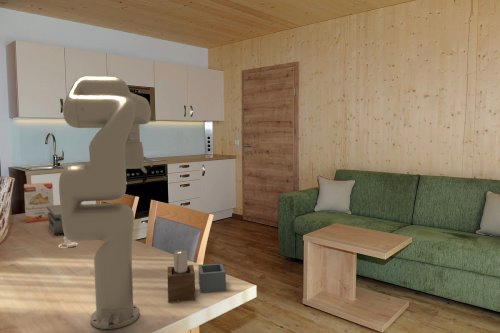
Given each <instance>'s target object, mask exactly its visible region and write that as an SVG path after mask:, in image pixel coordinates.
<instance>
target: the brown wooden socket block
mask: <svg viewBox="0 0 500 333" xmlns="http://www.w3.org/2000/svg"><path fill="white" fill-rule="evenodd" d="M195 274H196V273H195V267H194V264H190V265H188V264H187V273H186V274H174V265H173V266H167V303H174V302H175V303H179V302H186V301H187V302H189V301H196V275H195Z"/></svg>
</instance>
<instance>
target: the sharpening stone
mask: <svg viewBox="0 0 500 333" xmlns="http://www.w3.org/2000/svg"><path fill="white" fill-rule="evenodd" d="M47 209H48V211H49V212H50V213H48V220H47V221H48V224H49V226H48V227H49V229H50V232H51V233H52V234H53V235H58V234H64V232H63V226H62V216H61V206H60V204H55V205H54V204H53V206H47Z"/></svg>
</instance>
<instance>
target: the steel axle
mask: <svg viewBox="0 0 500 333" xmlns="http://www.w3.org/2000/svg"><path fill="white" fill-rule="evenodd" d="M187 265H188V250H187V249H176V250H174V251H173V266H174V274H186V273H187Z"/></svg>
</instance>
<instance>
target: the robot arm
mask: <svg viewBox="0 0 500 333" xmlns="http://www.w3.org/2000/svg"><path fill="white" fill-rule="evenodd" d="M62 112H63V118H64V121H65V122H66V123H67V125H68V126H69V127H72V128H75V129H99V131H97V133H96V134H95V135H94V136H93V138H92V140H91V141H90V142H89V145H88V151H89V152H88V153H89V163H78V164H77V163H76V164H70V165H67V166H65V167H64V168H63V169H62V171H61V173H60V176H59V179H58V180H59V181H58V193H59V205H60V206H61V216H62V226H63V232H64V233H63V234H64V237H66V238H67V239H68V240H70V241H71V242H88V241H89V242H90V241H101V242H102V241H103V243H102V245H100V246H99V248H98V249H97V251H96V252H95V254H94V258H93V260H94V261H93V263H94V265H93V266H94V268H93V269H94V285H95V286H94V287H95V288H94V289H95V311H94V312H93V313H92V314H91V315H90V319H89V320H90V325H92V326H93V327H94V328H97V329H101V330H114V329H120V328H122V327H126V326H128V325H130V324H132V323H134V322H135V321H136V320H138V319H139V317H140V309H139V307H138V306H137V305H135V304H134V291H133V290H134V288H133V251H132V250H133V248H132V247H133V244H132V243H133V232H134V223H135V213H134V211H133V209H132V207H131V206H129V205H128V204H125V203H119V202H112V203H111V202H108V203H104V202H103V203H91V204H90V203H89V204H88V203H87V204H85V203H84V204H83V202H97V201H99V202H100V201H101V202H102V201H114V200H119V199H122V197H124V196H125V194H126V191H127V170H128V169H129V170H132V169H136V170H137V169H140V170H141V171H142V174H141V175H142V184H146V182H147V181H148V179H147V176H148V175H147V174H148V172H149V171H150V170H151V168H152V167H153V166H154V160H152V159H151V158H148V157H147V156H146V157H145V155H144V147H143V142H142V141H140V140H141V139H140V138H141V137H140V134H141V133H140V129H141V128H140V125H147V124H149V123H150V121H151V118H152V109H151V106H150V102H149V101H148V99H147V98H146V97H143V96H141V95H138V94H136V93H133V92H131V91H130V88H129V86H128V84H127V83H126V82H125V81H124V80H123V79H122V78H119V77H117V76H116V77H115V76H101V75H100V76H98V75H97V76H95V75H93V76H92V75H84V76H80V77H79V78H77V79H76V80H75V81H74V83H73V84H72V86H71V87H70V90H69V91H68V93H67V95H66V97H65V100H64V102H63V108H62ZM145 162H147V163H148V166H146V167H145V166H144V165H145Z"/></svg>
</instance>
